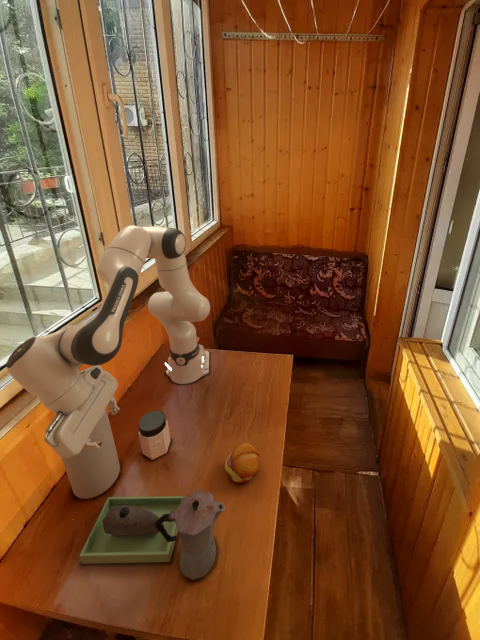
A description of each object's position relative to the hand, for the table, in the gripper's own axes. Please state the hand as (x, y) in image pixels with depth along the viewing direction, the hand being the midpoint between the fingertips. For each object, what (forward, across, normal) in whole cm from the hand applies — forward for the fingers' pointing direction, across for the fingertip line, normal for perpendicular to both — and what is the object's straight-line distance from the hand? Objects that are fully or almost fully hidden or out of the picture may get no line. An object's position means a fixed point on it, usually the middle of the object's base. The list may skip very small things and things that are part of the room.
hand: (108, 429), depth 80 cm
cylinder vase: (+20, +3, +22) cm, 30 cm away
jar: (+27, +13, +10) cm, 32 cm away
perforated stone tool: (+26, -11, +5) cm, 29 cm away
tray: (+26, -11, +5) cm, 29 cm away
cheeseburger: (+39, +5, -18) cm, 43 cm away
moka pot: (+33, -17, -11) cm, 39 cm away
